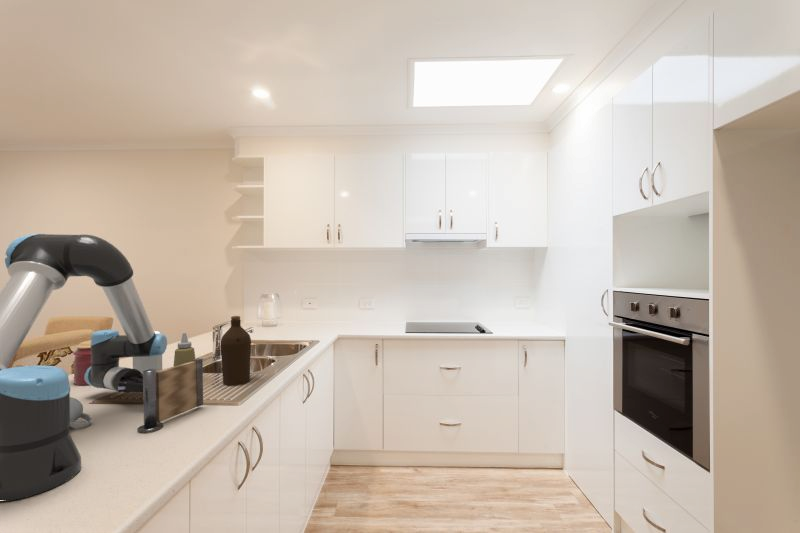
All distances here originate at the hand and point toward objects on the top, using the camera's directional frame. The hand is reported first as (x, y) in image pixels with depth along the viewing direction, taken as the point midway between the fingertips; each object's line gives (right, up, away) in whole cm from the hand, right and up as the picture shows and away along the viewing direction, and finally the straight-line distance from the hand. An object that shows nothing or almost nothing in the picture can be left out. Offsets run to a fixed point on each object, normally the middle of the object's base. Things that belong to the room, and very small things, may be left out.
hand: (173, 388), depth 116 cm
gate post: (+1, -7, -12) cm, 14 cm away
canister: (-49, -7, +31) cm, 58 cm away
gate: (+4, -6, -4) cm, 8 cm away
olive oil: (+7, -7, +27) cm, 29 cm away
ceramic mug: (-23, -8, -11) cm, 27 cm away
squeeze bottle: (-14, -7, +31) cm, 35 cm away
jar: (-30, -7, +33) cm, 45 cm away
